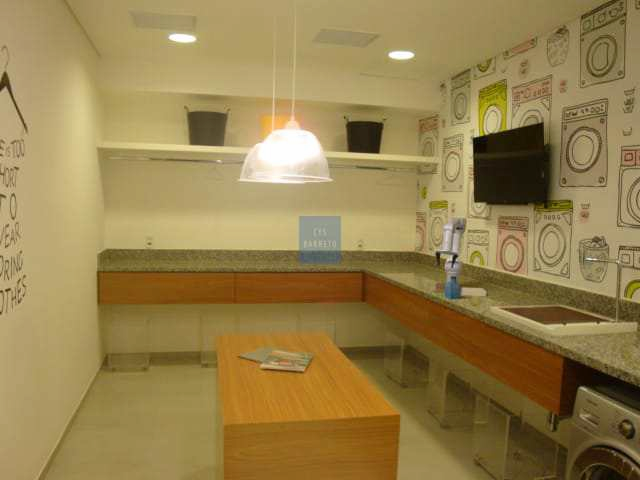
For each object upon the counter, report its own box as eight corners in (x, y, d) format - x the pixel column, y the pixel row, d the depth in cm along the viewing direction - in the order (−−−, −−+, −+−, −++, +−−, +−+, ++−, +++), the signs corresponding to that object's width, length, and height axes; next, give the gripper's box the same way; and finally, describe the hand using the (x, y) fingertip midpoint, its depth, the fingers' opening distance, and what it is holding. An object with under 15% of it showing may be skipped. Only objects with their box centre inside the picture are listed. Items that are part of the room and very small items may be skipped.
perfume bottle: (450, 299, 284) (451, 277, 283) (444, 297, 290) (445, 275, 289) (460, 299, 286) (461, 277, 285) (454, 296, 292) (455, 275, 291)
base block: (461, 292, 311) (461, 287, 310) (482, 293, 309) (482, 288, 309) (464, 295, 299) (464, 290, 299) (485, 296, 297) (486, 291, 297)
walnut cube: (435, 291, 309) (436, 282, 309) (444, 291, 309) (444, 283, 308) (436, 292, 304) (436, 284, 304) (445, 293, 304) (445, 284, 303)
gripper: (435, 240, 299) (433, 264, 297) (461, 244, 297) (459, 267, 295) (434, 243, 306) (432, 265, 304) (459, 246, 304) (457, 269, 302)
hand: (445, 266), depth 300 cm, fingers open, 7 cm apart
